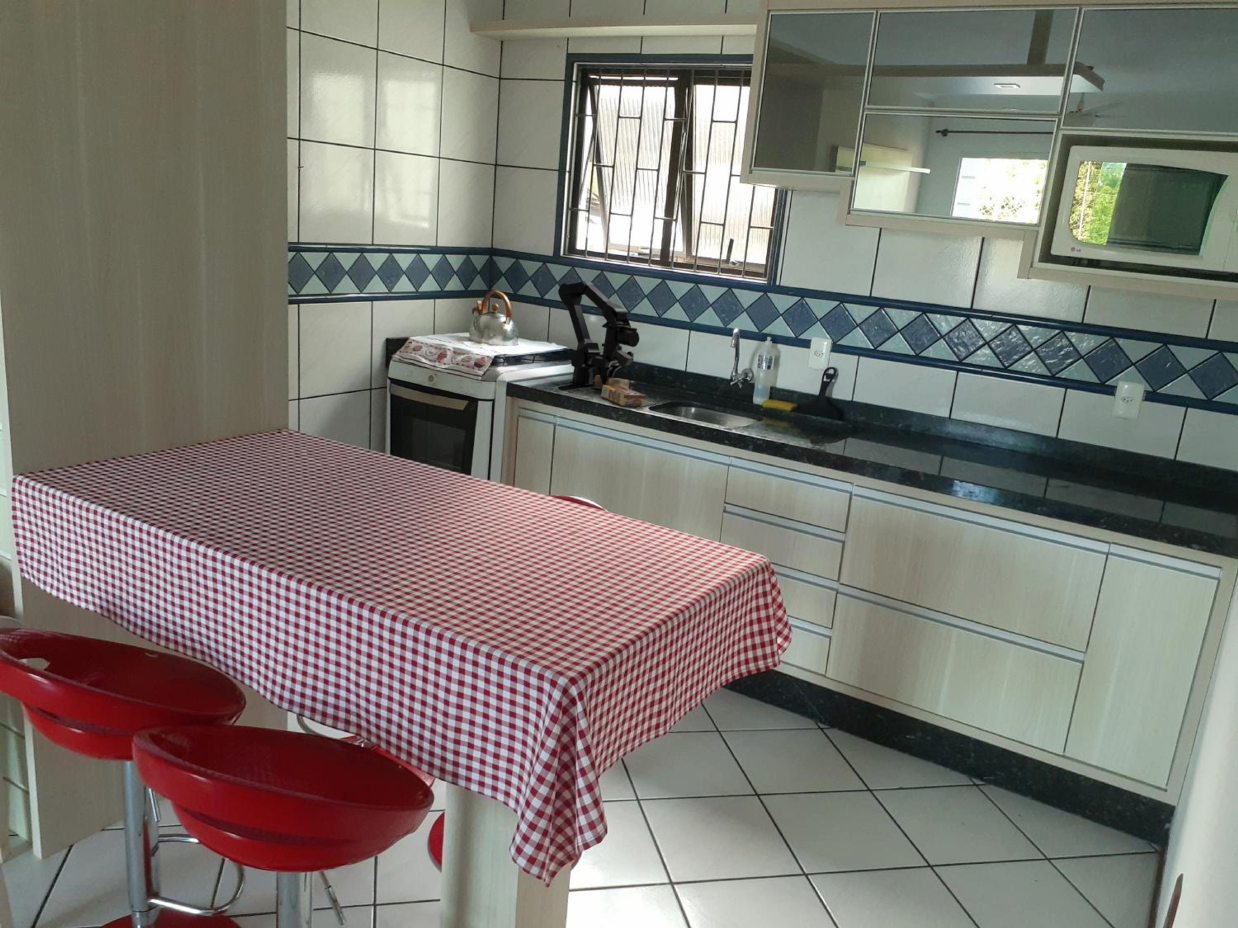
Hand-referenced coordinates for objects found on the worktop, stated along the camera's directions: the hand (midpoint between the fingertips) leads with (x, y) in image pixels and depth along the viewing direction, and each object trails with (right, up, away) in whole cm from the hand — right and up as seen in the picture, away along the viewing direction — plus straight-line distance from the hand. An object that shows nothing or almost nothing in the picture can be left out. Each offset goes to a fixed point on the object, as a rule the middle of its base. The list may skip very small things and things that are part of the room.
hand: (606, 383), depth 353 cm
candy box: (+2, -4, -13) cm, 14 cm away
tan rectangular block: (+2, -1, -1) cm, 2 cm away
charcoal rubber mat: (+10, -8, -15) cm, 20 cm away
